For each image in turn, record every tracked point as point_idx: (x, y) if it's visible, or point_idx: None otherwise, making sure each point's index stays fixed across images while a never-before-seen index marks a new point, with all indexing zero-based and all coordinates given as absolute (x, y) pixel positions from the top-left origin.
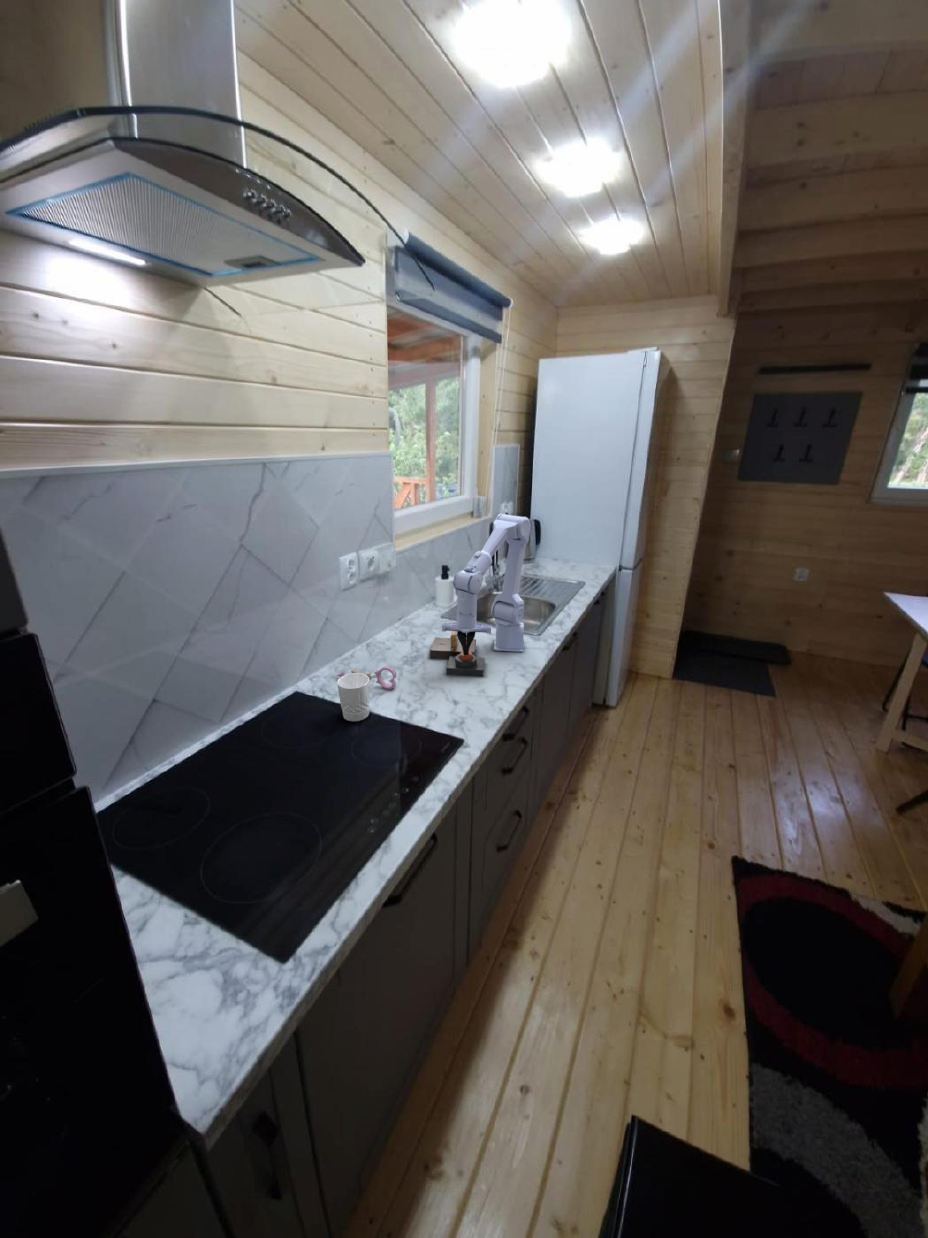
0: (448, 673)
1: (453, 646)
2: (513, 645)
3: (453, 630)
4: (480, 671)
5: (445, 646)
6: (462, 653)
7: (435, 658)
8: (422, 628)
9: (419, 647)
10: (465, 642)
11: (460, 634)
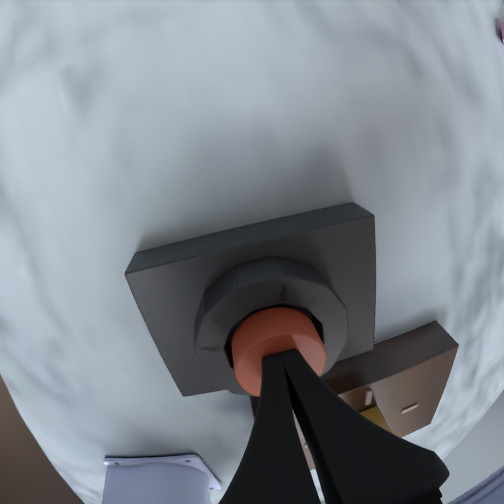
0: (346, 206)
1: (366, 414)
2: (132, 477)
3: (475, 491)
4: (142, 263)
5: (398, 400)
6: (310, 361)
7: (419, 329)
8: (437, 439)
9: (460, 366)
10: (314, 445)
11: (406, 501)
